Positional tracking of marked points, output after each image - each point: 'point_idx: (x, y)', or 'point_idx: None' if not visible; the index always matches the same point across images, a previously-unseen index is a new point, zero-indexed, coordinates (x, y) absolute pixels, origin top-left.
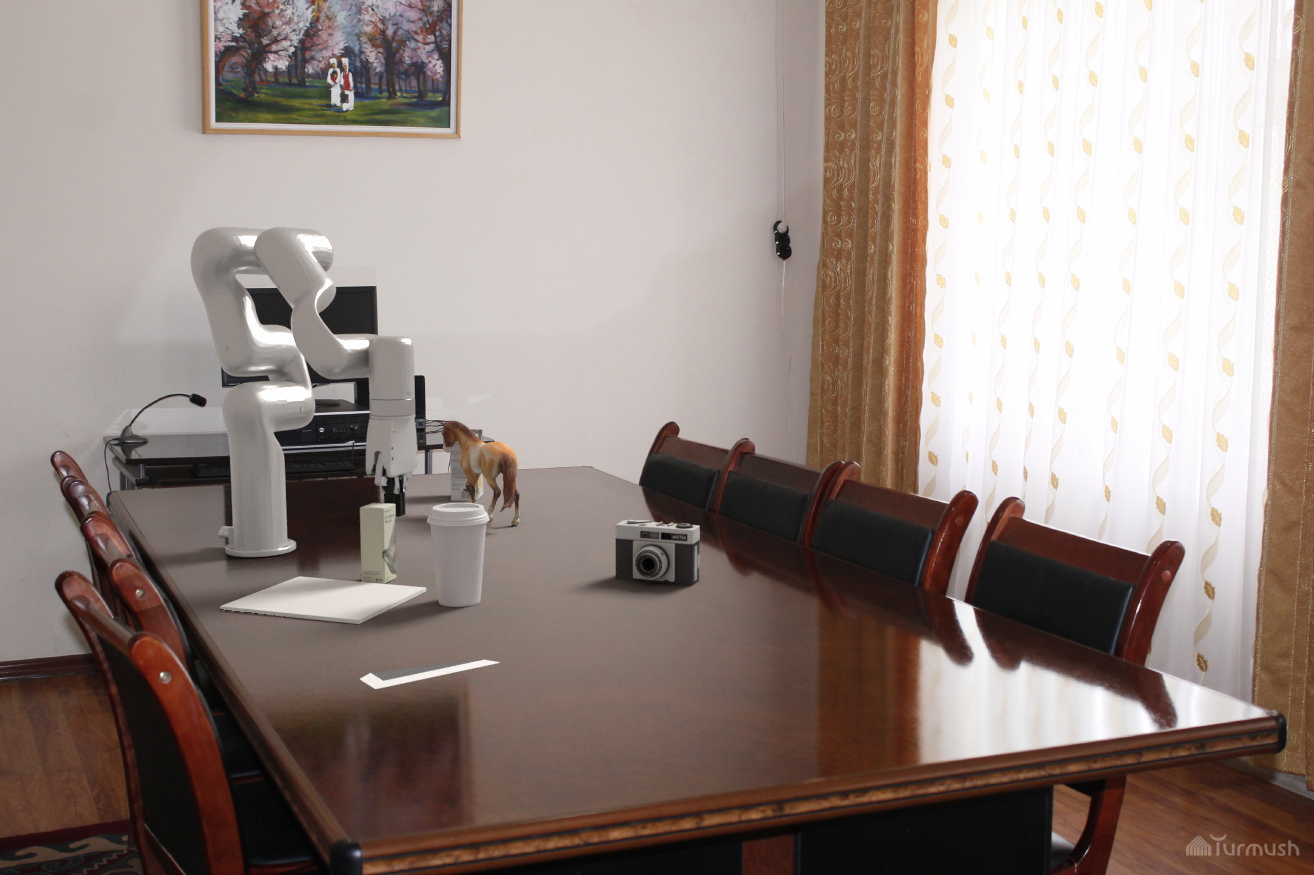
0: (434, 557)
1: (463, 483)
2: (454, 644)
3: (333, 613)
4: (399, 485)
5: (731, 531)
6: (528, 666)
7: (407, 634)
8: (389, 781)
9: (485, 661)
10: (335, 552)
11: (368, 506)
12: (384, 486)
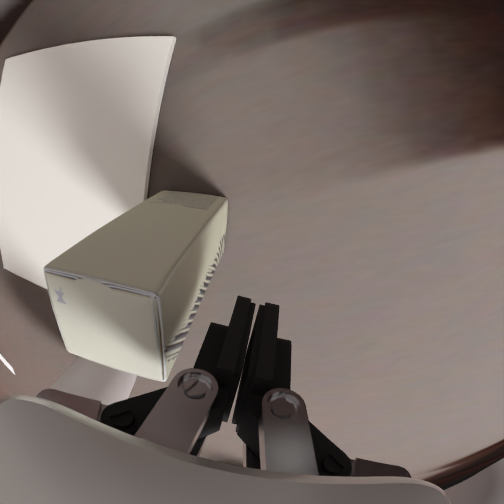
0: (56, 382)
1: None
2: (17, 352)
3: (5, 229)
4: (255, 448)
5: (441, 482)
6: (20, 387)
7: (11, 317)
8: None
9: (11, 367)
10: (465, 46)
11: (61, 299)
12: (141, 410)
